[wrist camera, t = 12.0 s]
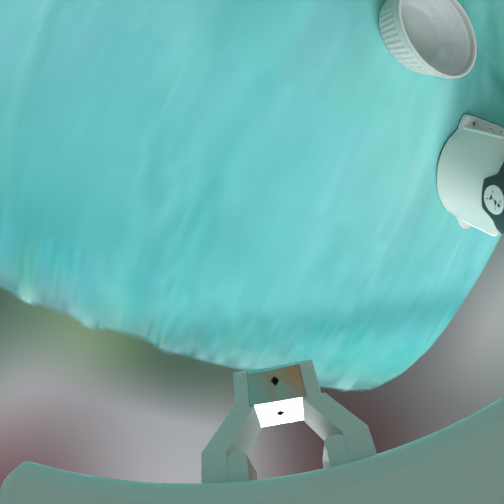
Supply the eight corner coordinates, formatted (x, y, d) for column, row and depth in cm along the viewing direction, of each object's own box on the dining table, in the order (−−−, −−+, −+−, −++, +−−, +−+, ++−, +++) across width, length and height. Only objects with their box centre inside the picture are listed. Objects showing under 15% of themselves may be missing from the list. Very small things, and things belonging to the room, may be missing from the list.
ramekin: (397, -22, 24) (425, -36, 18) (456, 43, 29) (488, 41, 23) (351, 28, 28) (379, 16, 22) (420, 98, 33) (453, 100, 27)
